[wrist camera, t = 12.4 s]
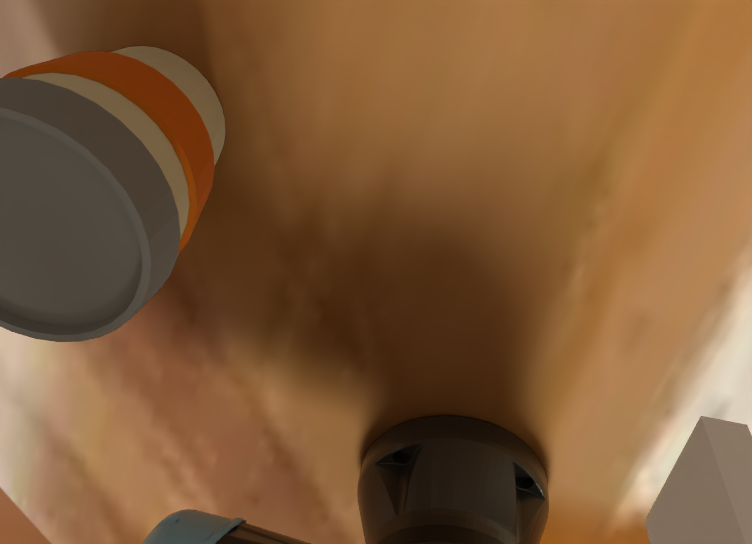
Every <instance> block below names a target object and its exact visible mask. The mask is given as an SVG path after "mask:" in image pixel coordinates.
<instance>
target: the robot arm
mask: <svg viewBox="0 0 752 544" xmlns="http://www.w3.org/2000/svg"><path fill="white" fill-rule="evenodd" d="M358 504H359V510H360V515H361V521H362V526H363V532H364V537H365V542H366V544H539V543H540V540H541V537H542V534H543V531H544V528H545V525H546V522H547V518H548V511H549V498H548V485H547V478H546V474H545V471H544V468H543V466H542V464H541V462H540V460H539V459H538V457H537V456H536V455H535V453H534V452H533V451H532V450H531V449H530V448H529V447H528V446H527V445H526V444H525V443H524V442H522V441H521V440H520V439H518V438H517V437H516V436H514V435H513V434H511V433H509V432H507V431H505V430H503V429H501V428H499V427H497V426H495V425H492V424H489V423H486V422H483V421H479V420H475V419H470V418H465V417H456V416H434V417H426V418H420V419H416V420H412V421H408V422H405V423H403V424H400V425H398V426H396V427H394V428H392V429H390V430H388V431H387V432H385V433H384V434H383V435H381V436H380V437H379V438H378V439H377V440H376V441H375V442H374V443H373V444H372V445H371V446H370V448H369V449H368V451H367V453H366V455H365V457H364V460H363V463H362V467H361V472H360V477H359V482H358ZM645 523H646V527H647V532H648V536H649V541H650V544H752V436H751V433H750V431H749V429H748V426H747V425H745V424H740V423H734V422H729V421H724V420H719V419H714V418H709V417H704V416H701V417H700V419H699V421H698V423H697V424H696V426H695V428H694V430H693V432H692V434H691V436H690V437H689V439H688V441H687V443H686V445H685V447H684V449H683V450H682V452H681V454H680V456H679V458H678V460H677V462H676V464H675V465H674V467H673V469H672V471H671V473H670V475H669V477H668V478H667V480H666V482H665V484H664V486H663V488H662V490H661V491H660V493H659V495H658V497H657V499H656V501H655V503H654V504H653V506H652V508H651V510H650V512H649V514H648V516H647V518H646V519H645ZM142 544H310V543H307V542H304V541H301V540H298V539H294V538H291V537H288V536H285V535H282V534H278V533H275V532H272V531H269V530H266V529H262V528H259V527H256V526H253V525H250V524H246V520H244V519H242V518H235V519H229V518H225V517H221V516H217V515H213V514H209V513H205V512H201V511H197V510H190V509H188V510H181V511H178V512H175V513H173V514H171V515H169V516H167V517H166V518H165V519H163V520H162V521H161V522H160V523H159V524H158V525H157V526H156V527H155V528H154V529H153V530H152V532H151V533H150V534H149V535H148V536H147V538H146V539H145V540H144V541H143V543H142Z"/></svg>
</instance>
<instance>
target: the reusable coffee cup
mask: <svg viewBox="0 0 752 544" xmlns="http://www.w3.org/2000/svg"><path fill="white" fill-rule="evenodd" d="M225 134H226V131H225V118H224V114H223V110H222V106H221V104H220V102H219V99H218V97H217V95H216V93H215V91H214V90H213V88H212V87H211V85H210V84H209V82H208V81H207V79H206V78H205V77H204V76H203V75H202V74H201V73H200V72H199V71H198V70H197V69H196V68H195V67H194V66H192V65H191V64H190V63H188V62H187V61H186V60H185V59H183V58H181V57H179V56H177V55H175V54H173V53H171V52H169V51H166V50H163V49H160V48H156V47H149V46H134V47H127V48H123V49H120V50H116V51H113V52H102V51H91V52H81V53H76V54H72V55H68V56H64V57H61V58H57V59H53V60H50V61H46V62H42V63H38V64H35V65H31V66H28V67H25V68H22V69H19V70H16V71H14V72H11V73H9V74H7V75H6V76H4V77H3V78H1V79H0V326H1V327H3V328H5V329H7V330H10V331H12V332H15V333H18V334H22V335H25V336H28V337H32V338H35V339H42V340H49V341H56V342H77V341H84V340H89V339H94V338H98V337H101V336H103V335H105V334H108V333H110V332H112V331H114V330H117V329H118V328H119V327H120V326H122V325H123V324H124V323H125V322H127V321H128V320H129V319H131V318H132V317H133V316H134V315H135V314H136V313H137V312H138V311H139V310H140V309H141V308H142V307H143V306H144V305H145V304H146V303H147V302H148V301H149V300H150V299H151V298H152V297H153V296H154V295H155V294H156V293H157V292H158V291H159V290H160V288H161V287H162V286H163V284H164V283H165V281H166V280H167V279H168V277H169V276H170V275H171V272H172V270H173V267H174V265H175V262H176V260H177V257H178V255H179V253H180V252H181V251H182V249H183V248H184V247H185V245H186V244H187V243H188V241H189V238H190V236H191V234H192V232H193V230H194V227H195V225H196V223H197V221H198V219H199V216H200V214H201V212H202V210H203V208H204V205H205V203H206V201H207V198H208V196H209V193H210V191H211V189H212V185H213V179H214V172H215V165H216V163H217V161H218V159H219V156H220V154H221V151H222V149H223V146H224V140H225Z"/></svg>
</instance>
